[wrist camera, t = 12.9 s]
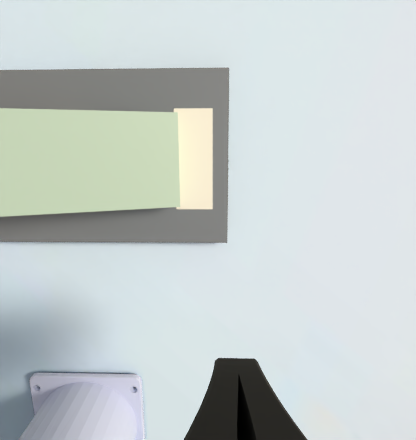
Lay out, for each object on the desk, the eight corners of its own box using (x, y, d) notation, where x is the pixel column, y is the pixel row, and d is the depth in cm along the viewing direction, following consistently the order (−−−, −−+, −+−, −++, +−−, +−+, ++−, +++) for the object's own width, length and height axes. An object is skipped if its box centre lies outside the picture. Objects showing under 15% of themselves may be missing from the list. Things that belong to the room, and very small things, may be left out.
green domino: (177, 112, 16) (-48, 106, 14) (180, 206, 17) (-28, 218, 15) (172, 115, 18) (-32, 111, 15) (175, 202, 19) (-14, 211, 16)
